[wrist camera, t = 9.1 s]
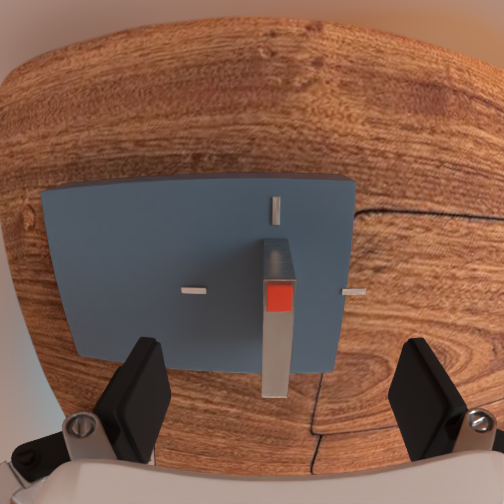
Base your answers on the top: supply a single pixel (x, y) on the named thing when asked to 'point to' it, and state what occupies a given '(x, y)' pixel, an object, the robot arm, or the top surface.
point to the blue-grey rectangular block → (200, 264)
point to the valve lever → (277, 317)
